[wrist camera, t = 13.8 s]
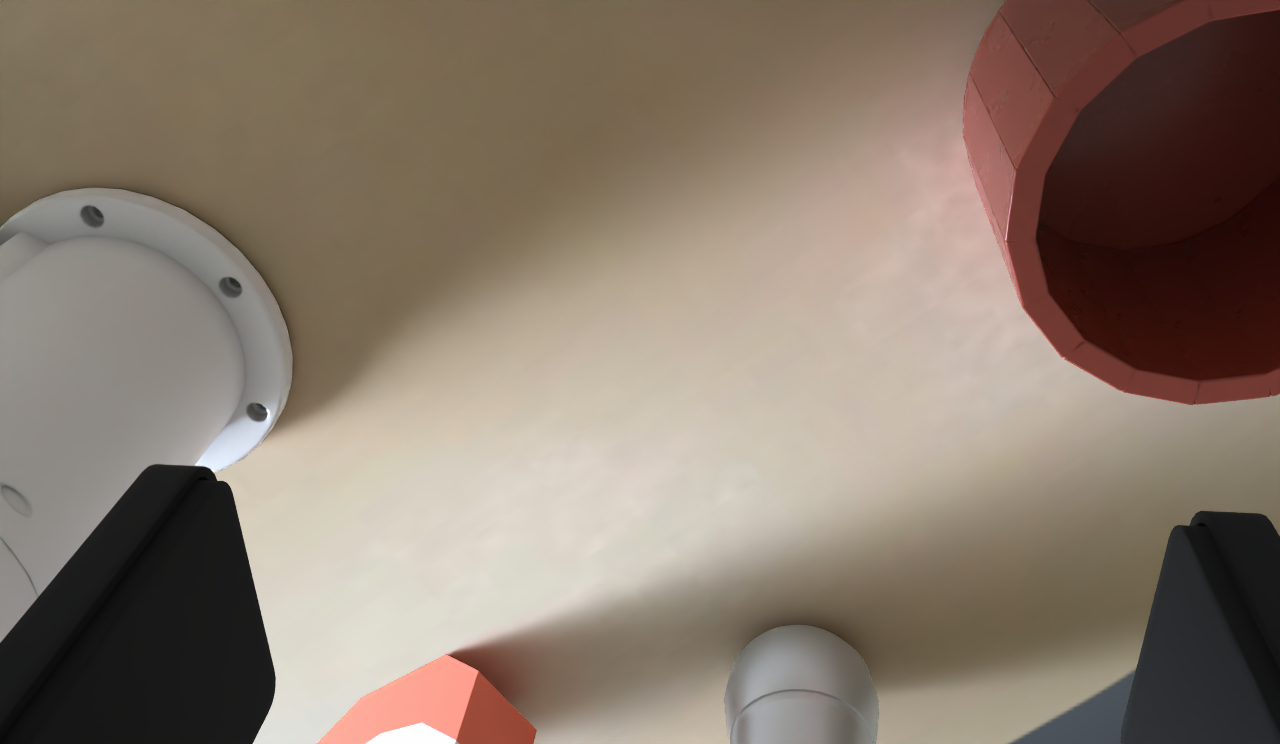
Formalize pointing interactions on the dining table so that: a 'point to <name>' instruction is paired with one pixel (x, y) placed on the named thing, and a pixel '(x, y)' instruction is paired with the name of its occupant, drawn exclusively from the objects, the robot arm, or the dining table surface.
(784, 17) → the dining table surface
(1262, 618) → the robot arm
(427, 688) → the french fries container
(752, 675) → the plastic bottle
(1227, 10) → the tin
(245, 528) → the dining table surface
